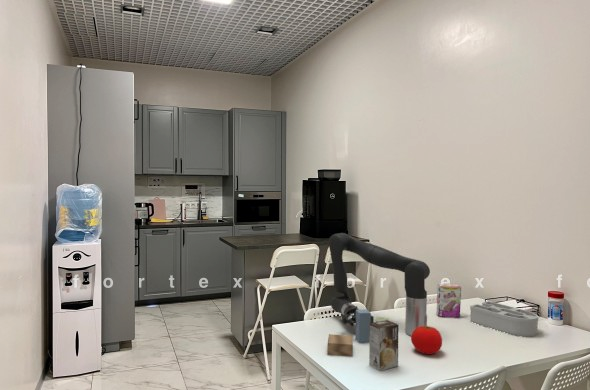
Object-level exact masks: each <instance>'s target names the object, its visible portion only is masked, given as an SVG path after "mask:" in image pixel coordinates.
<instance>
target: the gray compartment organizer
mask: <svg viewBox="0 0 590 390" xmlns="http://www.w3.org/2000/svg"><path fill="white" fill-rule="evenodd" d="M469 309H470V323H471V322H473V323H472V324H474V323H476V324H475V325H477V324H480V325H483V326H482V327H484V326H486V327H485V328H487V327H489V328H488V329H490V328H492V329H491V330H493V329H495V330H494V331H497V330H498V331H497V332H500V331H501V332H500V333H503V332H505V333H504V334H506V333H508V334H507V335H510V334H511V335H510V336H514V335H515V337H519V336H522V337H521V338H532V336H533V337H535V335H536V336H537V334H538V324H539V323H538V321H539V315H538V314H537V313H535V312H533V311H529V310H525V309H521V308H519V307H514V306H510V305H506V304H502V303H498V302H493V301H491V300H488V301H487V300H486V301H483V302H482V304H478V303H477V304H476V303H475V304H472V305H470V307H469ZM480 325H479V326H480Z"/></svg>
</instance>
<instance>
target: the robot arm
mask: <svg viewBox="0 0 590 390" xmlns="http://www.w3.org/2000/svg"><path fill="white" fill-rule="evenodd" d="M328 248H329V253H330V258H331V264H332V270H333V290H334V291H335V292H336V293H341V294H343V295H339V296H337V295H335V296H333V297H332V298H331V300H330V306H331V309H333V311H334V312H336V313H338V314H341V315H340V321H341V323H342V324H343V325H346V324H347V325H349V326H350V327H354V325H355V324H356V310H360V309H359V308H358V307H357V306H355V305H354V304H353V303H352V299H351V296H350V293H349V289H348V286H349V285H348V274H347V270H346V267H345V264H344V261H343V260H344V259H343V253H344V251H346V252H350V253H353V254H356V255H358V256H359V257H361V258H362V259H363V260H364V261H365V262H367V263H369V264H371V265H373V266H376V267H379V268H383V269H390V270H395V271H396V270H397V271H399V272H402V273H404V290H405V319H404V320H405V321H404V322H405V324H404V325H405V332H404V333H405V334H406V335H408V336H410V337H411V335H412V333H413V331H414V330H415V329H416V328H418V327H420V326H428V314H427V304H428V299H427V298H428V291H427V290H426V289H425V288H426V287H425V280H426V279H427V278H428V277H429V276H430V273H431V270H430V266H429V265H428V264H427V263H426V262H424V261H422V260H419V259H415V258H411V257H406V256H404V255H401V254H398V253H396V252H395V251H394V252H393V251H391V250H388V249H386V248H383V247H381V246H379V245H376V244H372V243H369V242H367V241H363V240H361V239H358V238H356V237H354V236H351V235H350V234H348V233H345V232H340V233H339V232H338V233H334V234H332V235H331V236H330V237H329V240H328ZM374 318H375V317H374V316H373V315H371V321H370V323H374V321H375V319H374Z"/></svg>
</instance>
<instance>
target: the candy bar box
mask: <svg viewBox="0 0 590 390" xmlns="http://www.w3.org/2000/svg"><path fill="white" fill-rule="evenodd" d="M461 301H462V286H460V285H459V284H449V283H448V284H447V283H446V284H443V283H438V284H437V289H436V316H437V317H439V318H453V317H460V318H461Z"/></svg>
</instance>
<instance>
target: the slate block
mask: <svg viewBox="0 0 590 390" xmlns="http://www.w3.org/2000/svg"><path fill="white" fill-rule="evenodd" d="M371 316H372V314H371V312H370V311H369V309H366V308H365V309H359V310H356V323H355V337H354V338H355V340H356V341H357V342H358V344H368V343H369V344H370V321H371Z"/></svg>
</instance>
